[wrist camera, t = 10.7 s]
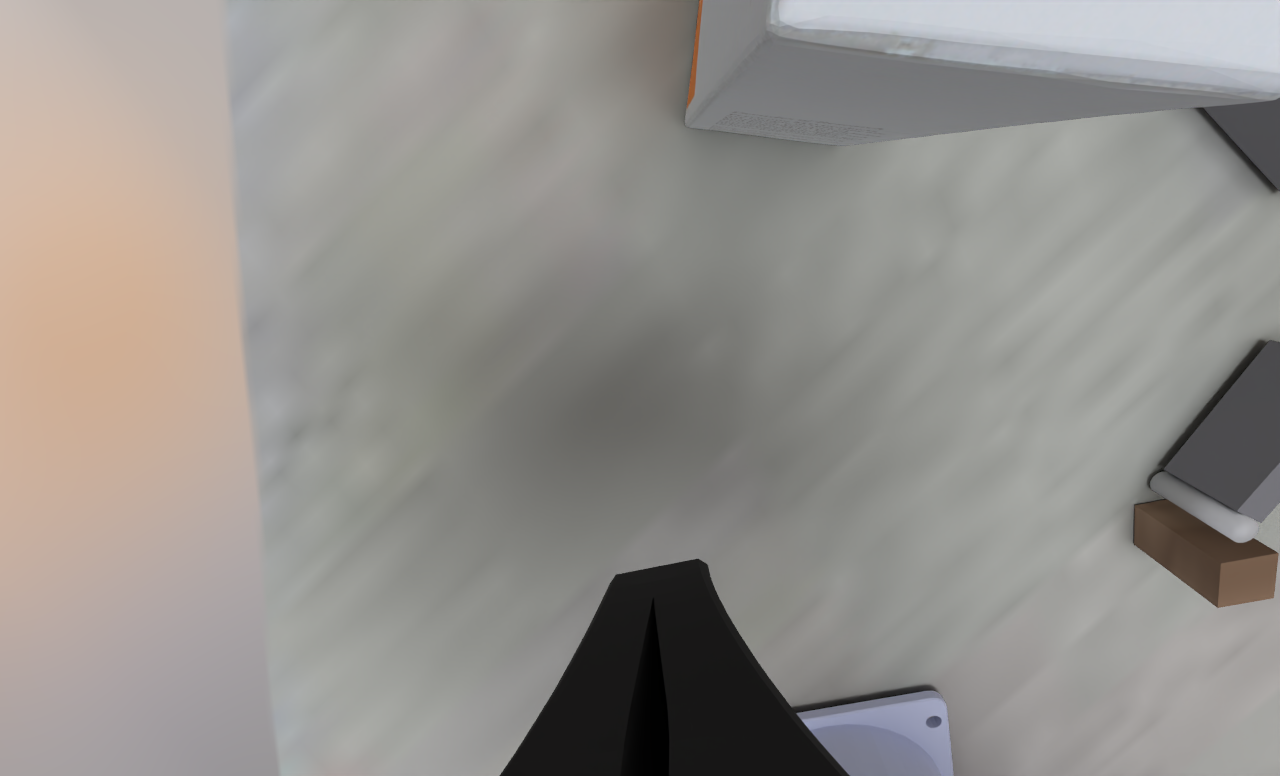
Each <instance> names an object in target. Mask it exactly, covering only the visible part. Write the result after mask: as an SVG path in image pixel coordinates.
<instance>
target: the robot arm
mask: <svg viewBox="0 0 1280 776" xmlns="http://www.w3.org/2000/svg"><path fill="white" fill-rule="evenodd" d="M931 716H934V717H931ZM929 717H931V718H929ZM500 776H954V772H953V762H952V752H951V742H950V732H949V722H948V711H947V705H946V703H945V701H944V699H943V697H942V696H941V695H940V694H939V693H938V692H935V691H922V692H916V693H911V694H905V695H899V696H893V697H887V698H881V699H876V700H870V701H864V702H858V703H852V704H846V705H841V706H835V707H829V708H823V709H817V710H811V711H806V712H800V713H795V711H794V710H793V709H792V708H791V706H790V705H789V704H788V702H787V701H786V700H785V698H784V697H783V696H782V694H781V693H780V692H779V690H778V689H777V688H776V687H775V685H774V684H773V683H772V681H771V680H770V679H769V677H768V676H767V674H766V673H765V671H764V670H763V669H762V667H761V666H760V664H759V663H758V662H757V660H756V659H755V657H754V656H753V654H752V652H751V651H750V649H749V648H748V646H747V645H746V643H745V642H744V640H743V639H742V637H741V636H740V634H739V633H738V631H737V629H736V628H735V626H734V624H733V623H732V621H731V619H730V618H729V616H728V614H727V612H726V610H725V608H724V606H723V604H722V603H721V601H720V599H719V597H718V595H717V592H716V590H715V588H714V586H713V583H712V581H711V577H710V573H709V569H708V565H707V564H706V563H704V562H703V561H701V560H699V559H694V560H689V561H684V562H679V563H674V564H669V565H664V566H658V567H653V568H648V569H643V570H638V571H633V572H628V573H622V574H617V575H616V576H615V577H614V578H613V580H612V581H611V583H610V585H609V587H608V589H607V591H606V593H605V595H604V597H603V599H602V601H601V603H600V606H599V608H598V610H597V612H596V614H595V616H594V618H593V620H592V622H591V624H590V626H589V628H588V630H587V632H586V633H585V635H584V637H583V639H582V641H581V643H580V645H579V647H578V649H577V650H576V652H575V654H574V656H573V658H572V660H571V661H570V663H569V665H568V667H567V669H566V670H565V672H564V674H563V676H562V678H561V679H560V681H559V683H558V685H557V687H556V688H555V690H554V692H553V693H552V695H551V697H550V698H549V700H548V702H547V703H546V705H545V706H544V708H543V710H542V711H541V713H540V714H539V716H538V718H537V719H536V721H535V722H534V724H533V726H532V727H531V729H530V730H529V732H528V734H527V735H526V737H525V738H524V740H523V742H522V743H521V745H520V746H519V748H518V750H517V751H516V753H515V754H514V756H513V757H512V759H511V760H510V761H509V763H508V764H507V766H506V767H505V769H504V770H503V772H502V773H501V775H500Z"/></svg>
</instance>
